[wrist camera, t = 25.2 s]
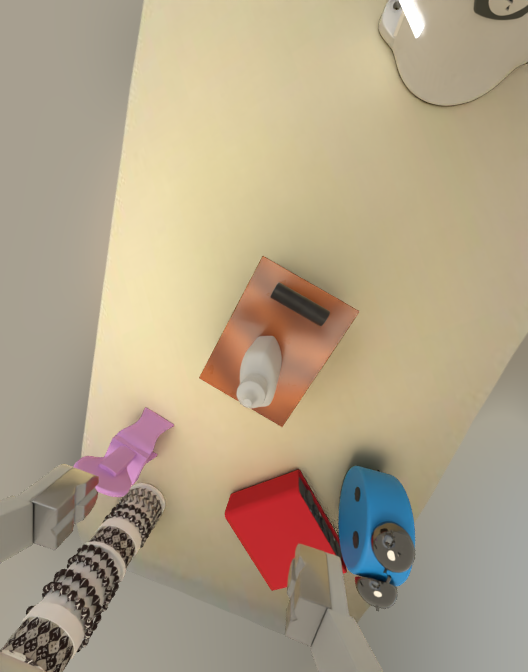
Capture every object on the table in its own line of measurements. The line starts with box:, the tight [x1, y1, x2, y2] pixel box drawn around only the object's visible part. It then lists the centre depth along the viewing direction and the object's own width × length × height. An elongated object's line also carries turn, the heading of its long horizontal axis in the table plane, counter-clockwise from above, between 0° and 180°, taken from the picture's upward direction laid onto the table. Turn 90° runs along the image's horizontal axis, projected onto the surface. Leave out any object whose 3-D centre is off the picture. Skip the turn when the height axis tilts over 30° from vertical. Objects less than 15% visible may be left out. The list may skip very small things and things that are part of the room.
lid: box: [199, 256, 359, 427], centre depth 28 cm, size 17×13×5 cm
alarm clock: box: [339, 466, 415, 611], centre depth 35 cm, size 13×6×15 cm, turn 169°
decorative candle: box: [0, 483, 165, 672], centre depth 39 cm, size 9×9×25 cm
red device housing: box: [225, 470, 347, 591], centre depth 44 cm, size 18×14×5 cm
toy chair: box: [74, 407, 174, 497], centre depth 40 cm, size 8×9×15 cm
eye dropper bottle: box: [237, 336, 282, 408], centre depth 24 cm, size 4×6×12 cm
